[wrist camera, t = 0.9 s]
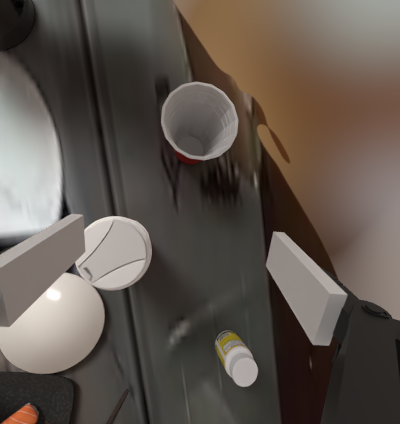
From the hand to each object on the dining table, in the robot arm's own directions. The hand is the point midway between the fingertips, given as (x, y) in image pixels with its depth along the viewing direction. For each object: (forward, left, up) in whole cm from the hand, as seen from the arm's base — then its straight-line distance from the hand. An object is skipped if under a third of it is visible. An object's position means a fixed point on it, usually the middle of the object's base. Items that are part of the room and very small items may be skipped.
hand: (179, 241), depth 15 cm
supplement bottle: (+22, -4, -25) cm, 34 cm away
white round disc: (-1, -22, -24) cm, 33 cm away
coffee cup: (-3, -6, -25) cm, 25 cm away
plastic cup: (-10, +13, -25) cm, 30 cm away
